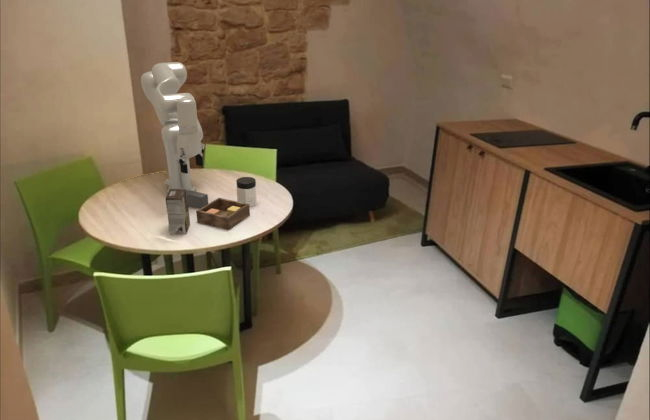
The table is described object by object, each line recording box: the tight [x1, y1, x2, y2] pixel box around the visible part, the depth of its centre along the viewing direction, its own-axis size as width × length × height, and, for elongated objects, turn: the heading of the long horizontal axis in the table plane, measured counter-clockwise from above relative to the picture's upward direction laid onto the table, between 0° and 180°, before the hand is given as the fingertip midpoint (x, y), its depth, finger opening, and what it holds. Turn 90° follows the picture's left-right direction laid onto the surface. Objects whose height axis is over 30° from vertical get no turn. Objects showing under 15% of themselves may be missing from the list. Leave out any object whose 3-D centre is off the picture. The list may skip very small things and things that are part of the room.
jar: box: [236, 176, 257, 208], centre depth 210 cm, size 9×8×12 cm
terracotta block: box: [206, 208, 220, 215], centre depth 196 cm, size 4×4×4 cm
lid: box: [186, 190, 209, 210], centre depth 209 cm, size 16×16×7 cm
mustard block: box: [227, 206, 240, 217], centre depth 199 cm, size 4×4×4 cm
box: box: [196, 197, 251, 231], centre depth 198 cm, size 15×15×6 cm
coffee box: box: [165, 189, 191, 235], centre depth 187 cm, size 9×6×16 cm
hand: (192, 169), depth 203 cm, fingers open, 9 cm apart
